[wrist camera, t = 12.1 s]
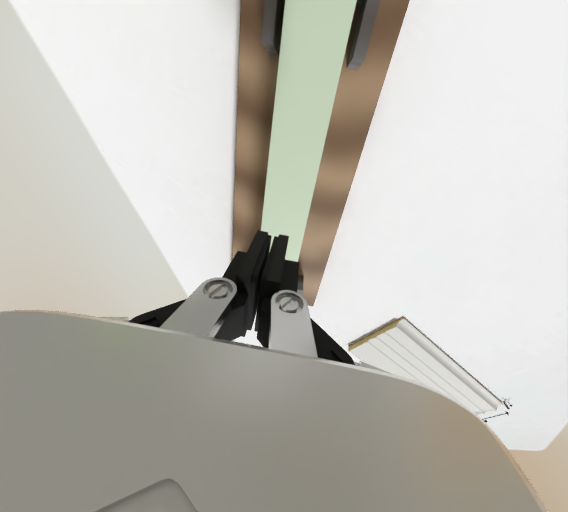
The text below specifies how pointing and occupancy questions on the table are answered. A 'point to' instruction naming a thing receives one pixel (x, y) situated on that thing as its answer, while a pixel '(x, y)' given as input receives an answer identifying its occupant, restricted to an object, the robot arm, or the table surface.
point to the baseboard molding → (423, 365)
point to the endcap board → (341, 131)
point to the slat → (302, 111)
